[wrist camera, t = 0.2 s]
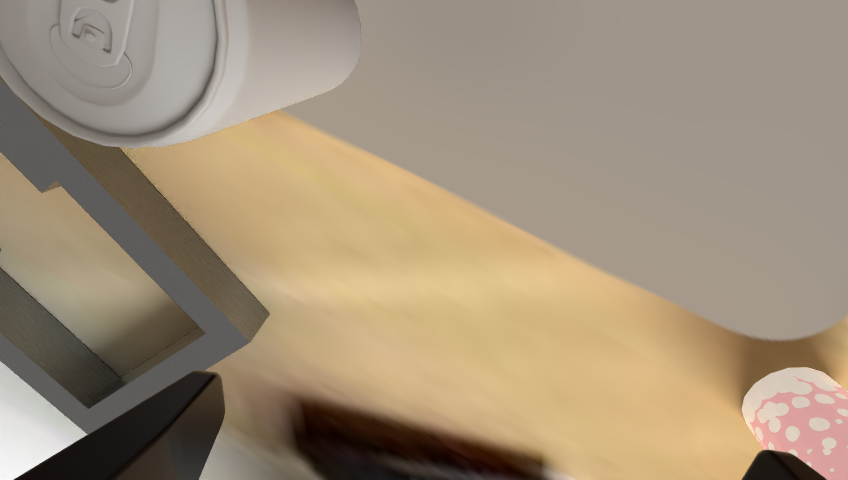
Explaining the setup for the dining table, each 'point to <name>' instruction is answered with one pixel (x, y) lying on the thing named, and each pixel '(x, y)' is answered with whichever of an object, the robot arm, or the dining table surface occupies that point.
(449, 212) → the dining table surface
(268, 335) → the dining table surface
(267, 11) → the beverage can
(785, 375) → the beverage cup
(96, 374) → the grey shallow tray
